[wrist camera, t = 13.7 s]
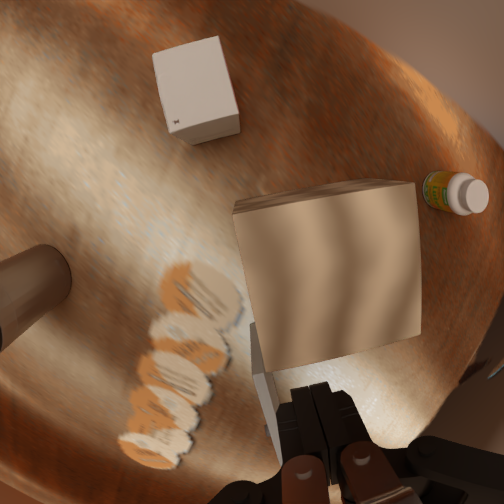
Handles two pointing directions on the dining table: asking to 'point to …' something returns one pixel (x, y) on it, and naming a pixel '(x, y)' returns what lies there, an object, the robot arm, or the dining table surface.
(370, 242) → the cabinet
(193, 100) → the small box
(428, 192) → the supplement bottle
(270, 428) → the door
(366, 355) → the dining table surface
